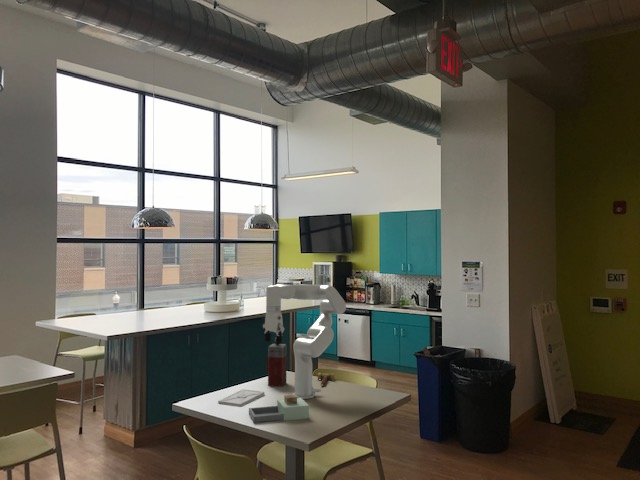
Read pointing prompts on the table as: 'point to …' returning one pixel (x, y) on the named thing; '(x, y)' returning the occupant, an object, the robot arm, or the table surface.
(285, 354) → the red liquor decanter
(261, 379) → the table surface
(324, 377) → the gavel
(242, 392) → the envelope
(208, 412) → the table surface
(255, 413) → the tray
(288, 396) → the tile
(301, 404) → the mint green lidded box
